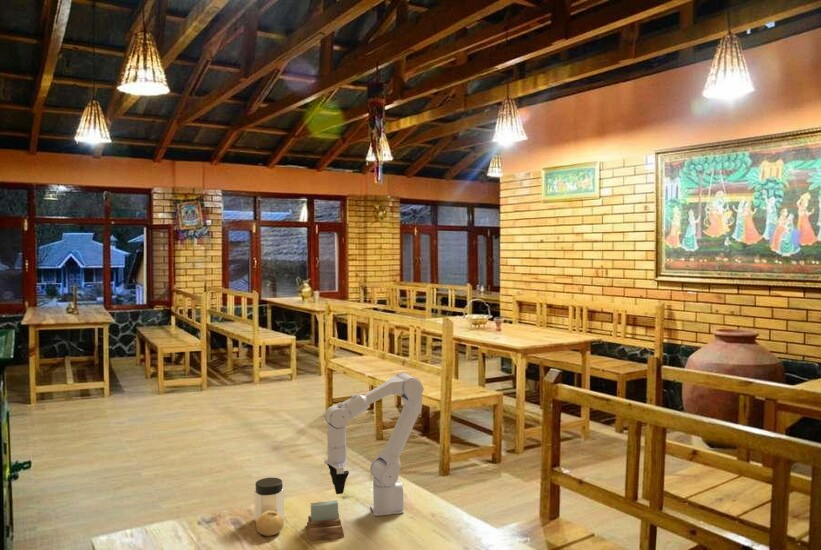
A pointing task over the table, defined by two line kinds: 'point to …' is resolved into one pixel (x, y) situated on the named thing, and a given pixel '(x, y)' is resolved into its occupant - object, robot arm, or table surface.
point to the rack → (324, 529)
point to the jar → (269, 496)
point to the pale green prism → (324, 511)
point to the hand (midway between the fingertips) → (338, 488)
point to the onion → (269, 523)
